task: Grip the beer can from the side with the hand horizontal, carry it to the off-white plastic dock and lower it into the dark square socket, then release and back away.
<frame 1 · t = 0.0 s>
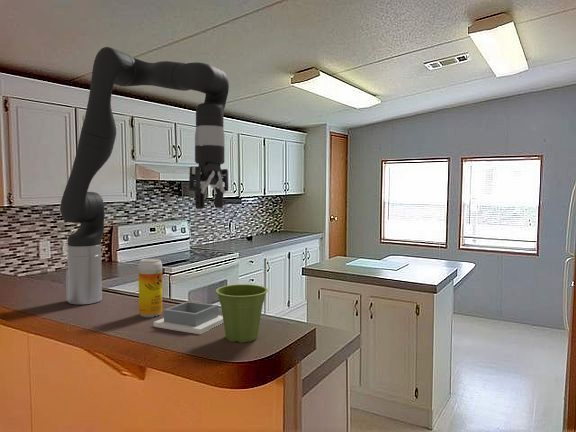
hand: (209, 208, 114), 29 cm above the counter, tool pointing down, fingers open, 8 cm apart
plant pot: (241, 338, 101), on the counter
dock: (191, 323, 112), on the counter
beer can: (150, 315, 119), on the counter
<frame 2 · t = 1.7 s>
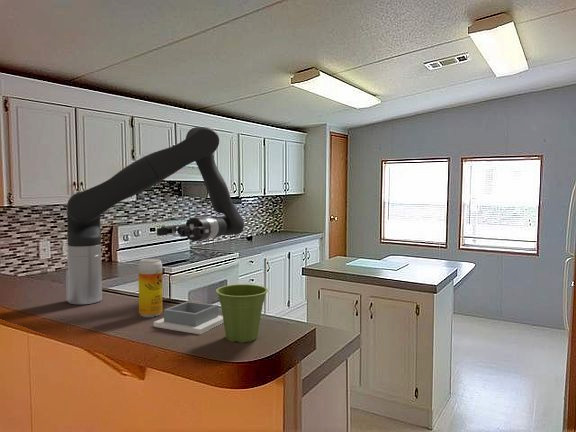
hand: (169, 232, 128), 22 cm above the counter, tool horizontal, fingers open, 8 cm apart
nothing on the counter moved.
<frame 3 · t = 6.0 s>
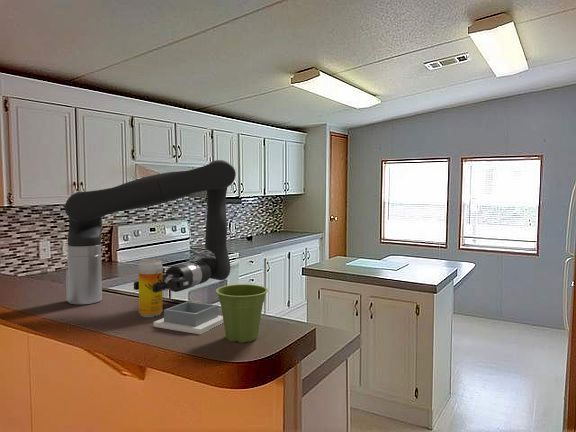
hand: (144, 287, 117), 8 cm above the counter, tool horizontal, fingers closed on beer can, 6 cm apart
beer can: (150, 315, 119), on the counter, touching gripper
everything else where it was.
when the fingers open (11 cm above the counter, at t = 10.0 s): beer can drops 1 cm, resting on dock.
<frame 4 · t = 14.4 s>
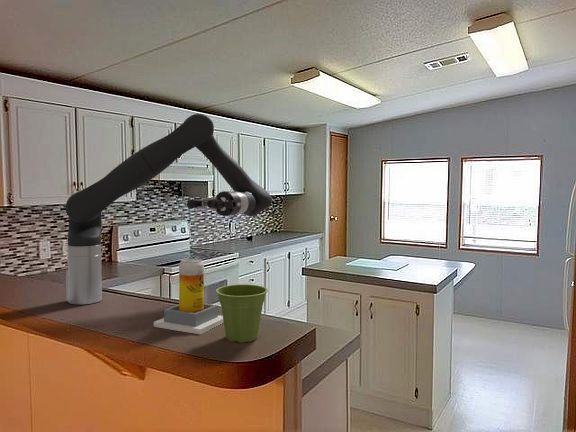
hand: (200, 204, 122), 30 cm above the counter, tool horizontal, fingers open, 8 cm apart
beer can: (191, 319, 112), point 1 cm above the counter, touching dock
everything else where it was.
at the end: beer can 0.1 cm off-centre on the dock, point 1.0 cm above the dock's base; beer can tilted 0°; the gripper is holding nothing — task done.
